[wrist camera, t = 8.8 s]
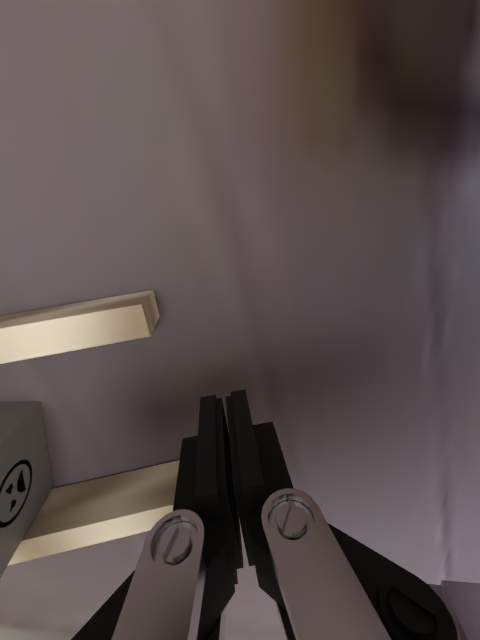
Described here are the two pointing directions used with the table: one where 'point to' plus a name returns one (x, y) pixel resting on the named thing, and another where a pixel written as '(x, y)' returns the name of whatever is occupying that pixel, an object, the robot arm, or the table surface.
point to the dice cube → (21, 473)
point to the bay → (107, 492)
